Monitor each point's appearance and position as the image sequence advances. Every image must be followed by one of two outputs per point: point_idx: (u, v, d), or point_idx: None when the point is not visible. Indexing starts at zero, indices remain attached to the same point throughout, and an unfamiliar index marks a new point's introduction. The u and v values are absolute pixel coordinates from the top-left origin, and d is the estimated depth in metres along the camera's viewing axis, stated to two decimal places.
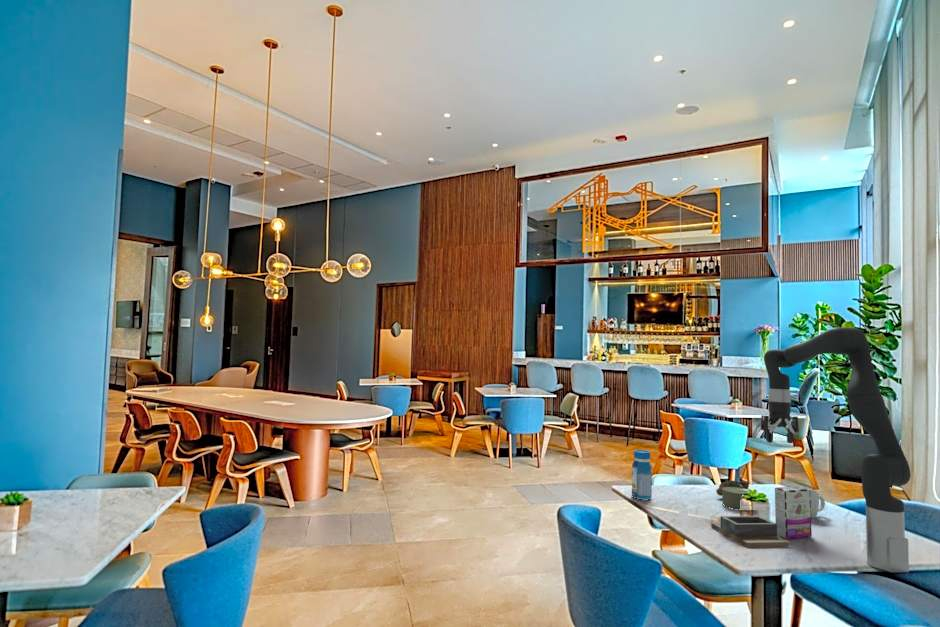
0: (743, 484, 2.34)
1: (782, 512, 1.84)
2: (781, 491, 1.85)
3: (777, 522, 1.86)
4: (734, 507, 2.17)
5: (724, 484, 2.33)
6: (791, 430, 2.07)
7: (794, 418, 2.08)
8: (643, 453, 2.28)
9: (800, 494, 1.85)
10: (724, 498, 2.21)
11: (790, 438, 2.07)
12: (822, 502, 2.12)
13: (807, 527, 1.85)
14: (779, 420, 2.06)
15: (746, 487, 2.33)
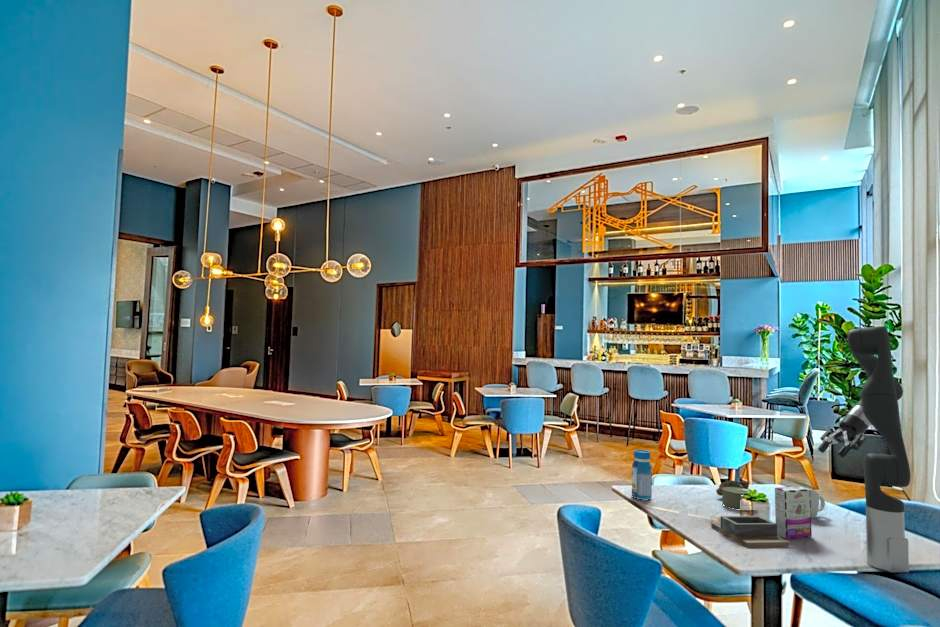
0: (743, 484, 2.34)
1: (782, 512, 1.84)
2: (781, 491, 1.85)
3: (777, 522, 1.86)
4: (734, 507, 2.17)
5: (724, 484, 2.33)
6: (846, 443, 1.87)
7: None
8: (643, 453, 2.28)
9: (800, 494, 1.85)
10: (724, 498, 2.21)
11: None
12: (822, 502, 2.12)
13: (807, 527, 1.85)
14: (837, 431, 1.93)
15: (746, 487, 2.33)
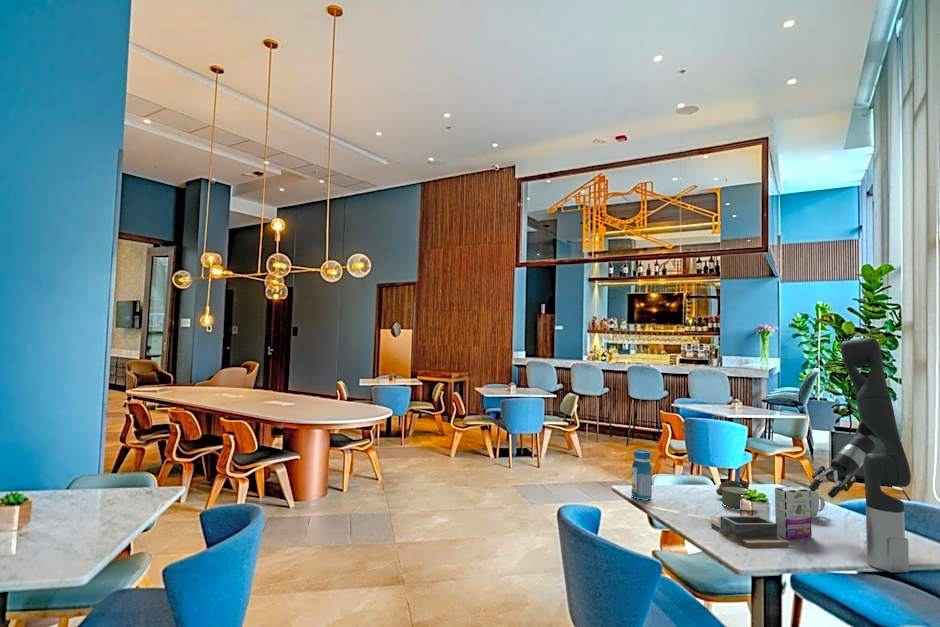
0: (743, 484, 2.34)
1: (782, 512, 1.84)
2: (781, 491, 1.85)
3: (777, 522, 1.86)
4: (734, 507, 2.17)
5: (724, 484, 2.33)
6: (836, 483, 1.85)
7: None
8: (643, 453, 2.28)
9: (800, 494, 1.85)
10: (724, 498, 2.21)
11: None
12: (822, 502, 2.12)
13: (807, 527, 1.85)
14: (828, 470, 1.91)
15: (746, 487, 2.33)
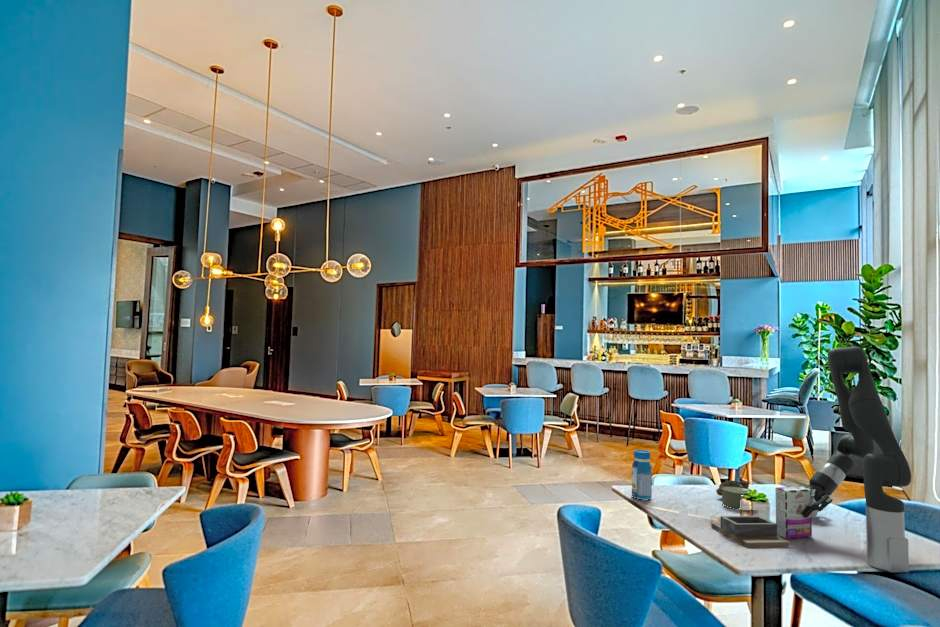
0: (743, 484, 2.34)
1: (782, 512, 1.84)
2: (782, 491, 1.85)
3: (777, 522, 1.86)
4: (733, 507, 2.17)
5: (724, 484, 2.33)
6: (810, 502, 1.85)
7: None
8: (643, 453, 2.28)
9: (801, 494, 1.85)
10: (724, 498, 2.22)
11: None
12: None
13: (807, 527, 1.85)
14: None
15: (746, 487, 2.33)
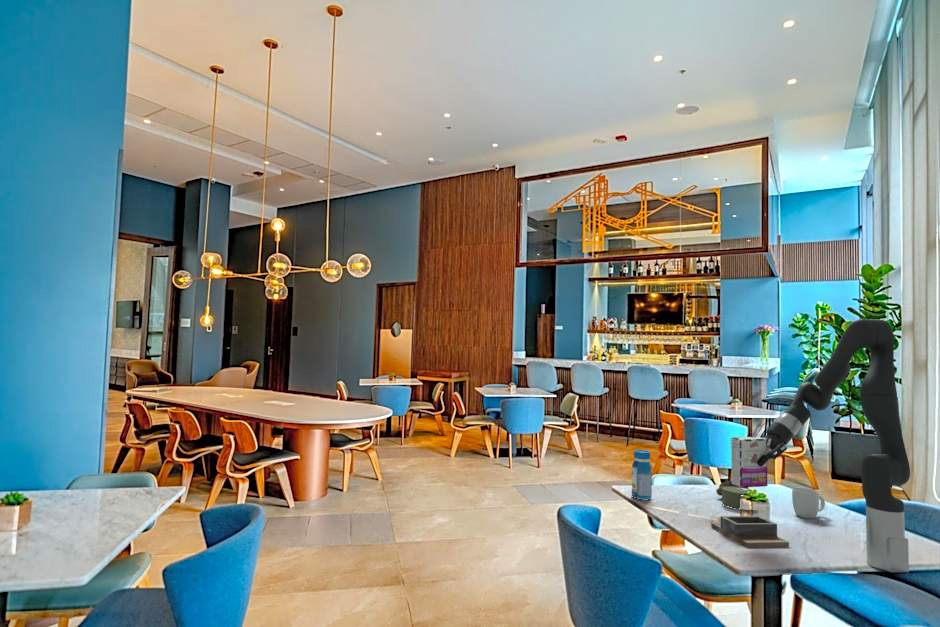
0: None
1: (737, 460, 1.84)
2: (737, 440, 1.84)
3: (733, 471, 1.86)
4: (733, 506, 2.18)
5: (724, 484, 2.33)
6: (765, 451, 1.84)
7: None
8: (643, 453, 2.28)
9: (756, 443, 1.84)
10: (723, 497, 2.22)
11: None
12: (822, 502, 2.12)
13: (763, 476, 1.84)
14: None
15: (746, 487, 2.33)
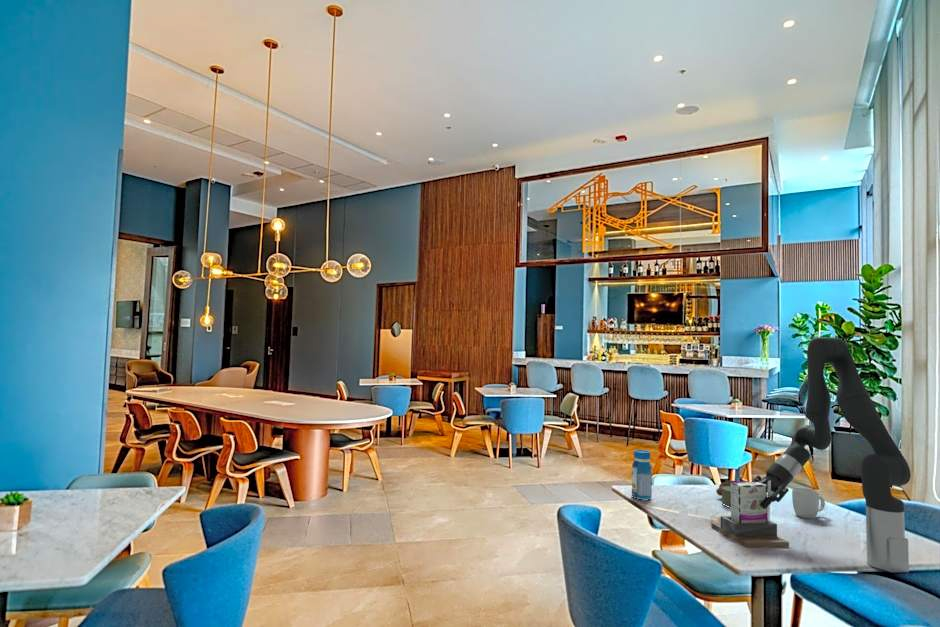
0: None
1: (736, 507, 1.83)
2: (736, 486, 1.84)
3: (732, 517, 1.85)
4: None
5: (724, 484, 2.33)
6: (768, 493, 1.82)
7: None
8: (643, 453, 2.28)
9: (756, 489, 1.83)
10: (723, 497, 2.23)
11: None
12: (822, 502, 2.12)
13: None
14: (763, 480, 1.88)
15: None
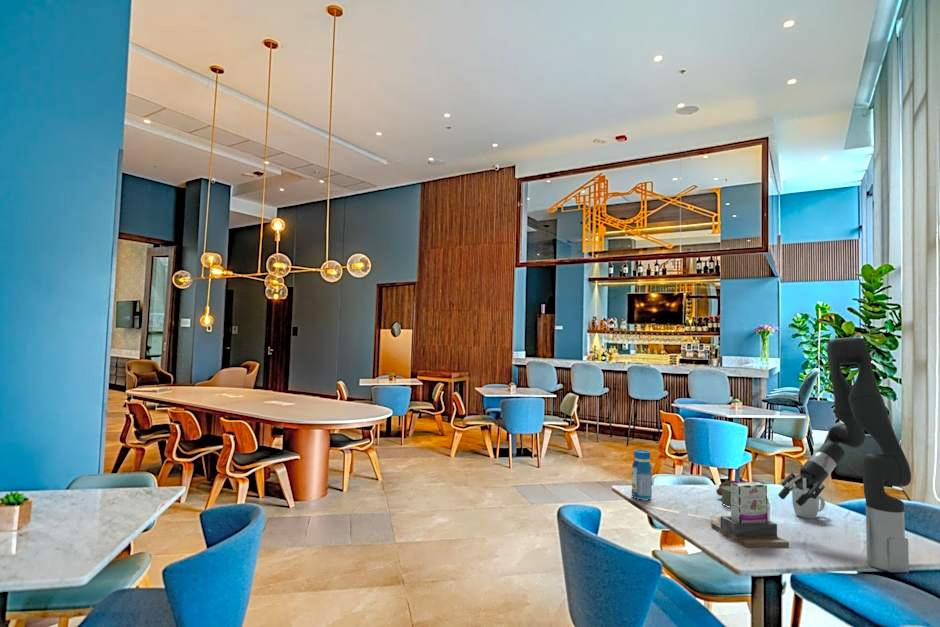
0: None
1: (736, 507, 1.83)
2: (736, 486, 1.84)
3: (732, 517, 1.85)
4: None
5: (724, 484, 2.33)
6: (804, 491, 1.83)
7: None
8: (643, 453, 2.28)
9: (756, 489, 1.83)
10: (723, 497, 2.23)
11: None
12: (822, 502, 2.12)
13: None
14: (798, 477, 1.90)
15: None
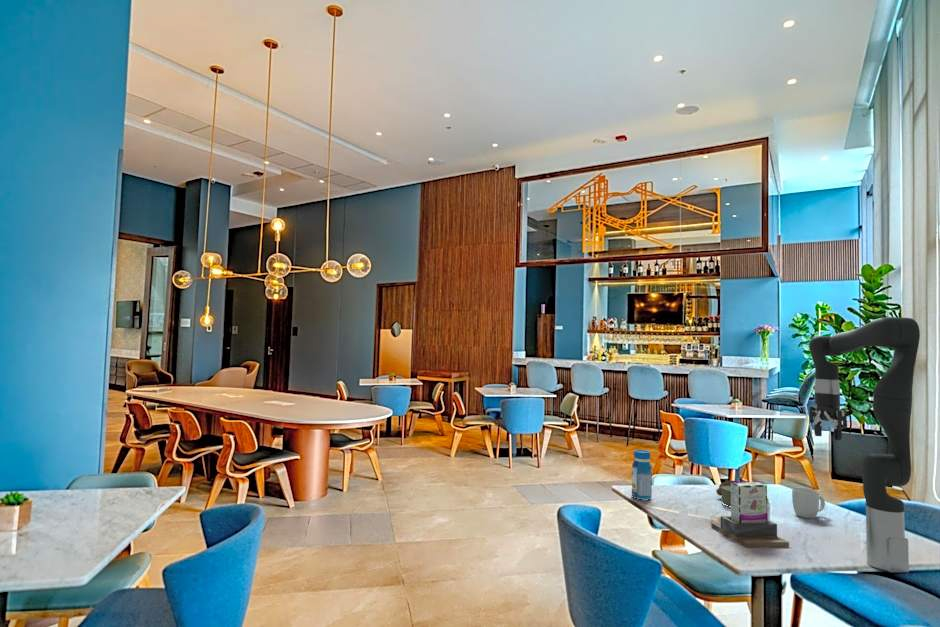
0: None
1: (736, 507, 1.83)
2: (736, 486, 1.83)
3: (732, 517, 1.85)
4: None
5: (724, 484, 2.33)
6: (833, 425, 1.86)
7: None
8: (643, 453, 2.28)
9: (756, 489, 1.83)
10: (723, 497, 2.23)
11: None
12: (822, 502, 2.12)
13: None
14: (819, 412, 1.91)
15: None
